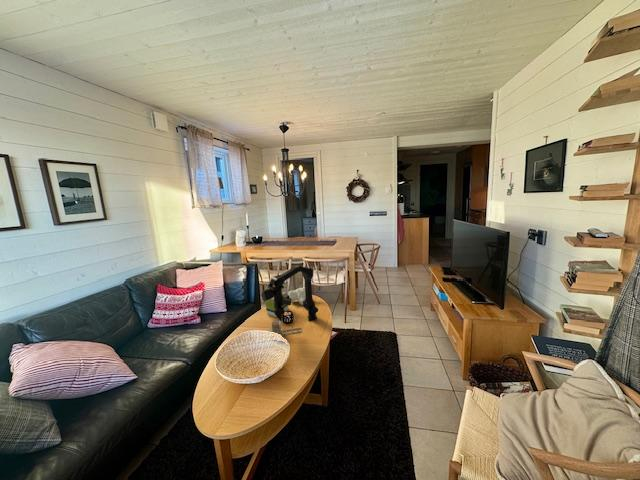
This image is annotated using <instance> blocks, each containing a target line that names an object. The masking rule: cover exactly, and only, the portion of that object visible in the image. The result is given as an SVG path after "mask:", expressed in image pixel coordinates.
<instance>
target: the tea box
mask: <svg viewBox="0 0 640 480" xmlns="http://www.w3.org/2000/svg"><path fill="white" fill-rule="evenodd" d="M282 295H283V297H286V296H287V295H288V292H286V291H282ZM264 303H265V310H266V314H267V316H268V315H269V316H271V317H274V318H278V317H277V316H276V315H275V313H274V309H275V308H276V306H275V305H274V297H273V298H272V299H269V300H266V301H264ZM282 307H284V311H285V312H287V311H288V310H289V309H290V308H289V307H290V306H289V305H285V304H284V306H282Z"/></svg>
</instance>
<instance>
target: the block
mask: <svg viewBox="0 0 640 480" xmlns="http://www.w3.org/2000/svg"><path fill="white" fill-rule="evenodd" d="M271 328H272V332H275V331H279V320H272V321H271Z"/></svg>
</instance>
